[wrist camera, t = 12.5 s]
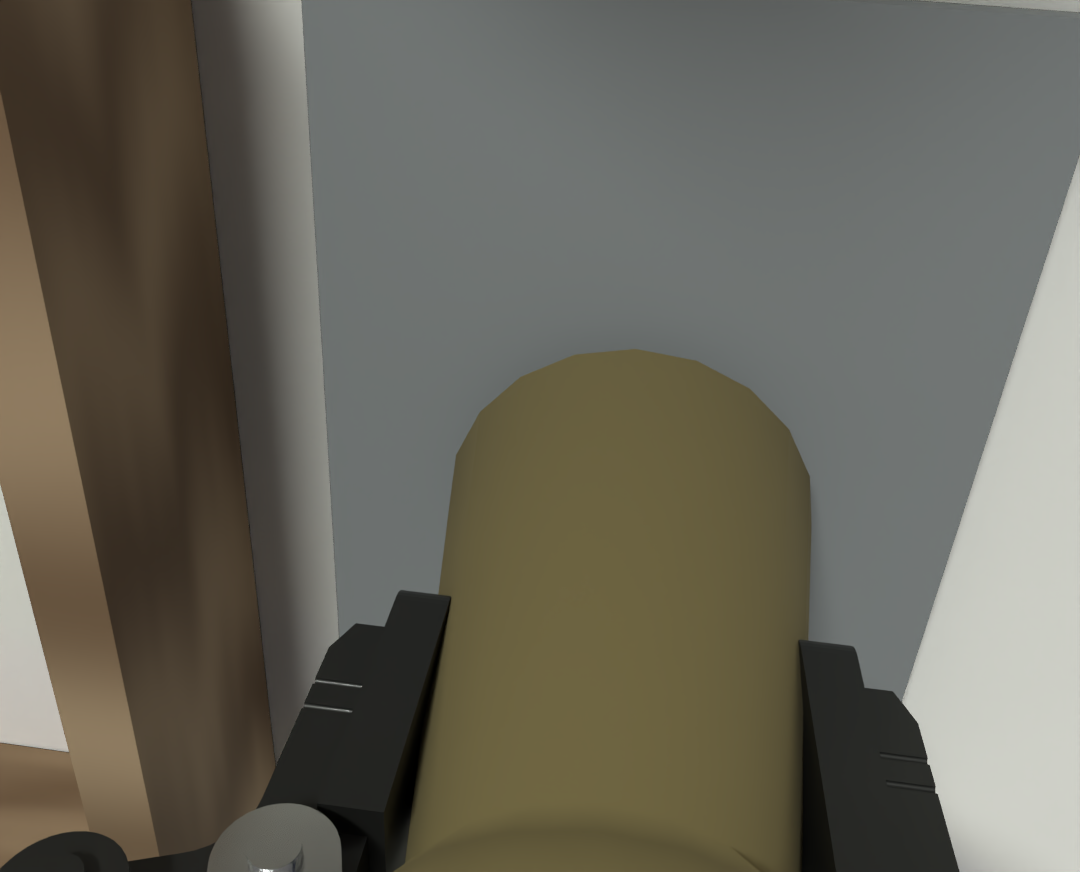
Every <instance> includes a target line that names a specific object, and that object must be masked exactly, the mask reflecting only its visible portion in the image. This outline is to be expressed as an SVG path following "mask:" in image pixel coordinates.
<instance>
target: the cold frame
mask: <svg viewBox="0 0 1080 872" xmlns="http://www.w3.org/2000/svg"><path fill="white" fill-rule="evenodd" d="M0 485H1V488H2V492H3V496H4V500H5V504H6V508H7V512H8V516H9V520H10V523H11V527H12V531H13V535H14V539H15V543H16V547H17V551H18V555H19V559H20V562H21V566H22V570H23V574H24V578H25V582H26V586H27V590H28V594H29V597H30V601H31V605H32V609H33V613H34V617H35V621H36V625H37V629H38V632H39V636H40V640H41V644H42V648H43V652H44V656H45V660H46V664H47V668H48V671H49V675H50V679H51V683H52V687H53V691H54V695H55V699H56V703H57V706H58V710H59V714H60V718H61V722H62V726H63V730H64V734H65V738H66V742H67V745H68V749H69V753H68V752H61V751H53V750H46V749H39V748H32V747H25V746H18V745H11V744H4V743H0V868H1V867H2V866H3V865H4V864H5V863H6V862H8V861H9V860H10V859H11V858H12V857H13V856H15V855H16V854H17V853H19V852H20V851H22V850H23V849H25V848H26V847H28V846H30V845H32V844H34V843H35V842H37V841H39V840H42V839H45V838H47V837H50V836H53V835H57V834H60V833H65V832H73V831H88V832H95V833H99V834H102V835H105V836H107V837H109V838H111V839H112V840H114V841H115V842H116V843H117V844H118V845H119V846H120V847H121V848H122V849H123V851H124V853H125V854H126V857H127V860H128V861H133V860H139V859H146V858H152V857H159V856H165V855H172V854H178V853H184V852H189V851H193V850H197V849H200V848H203V847H206V846H209V845H211V844H213V843H215V842H216V841H217V840H218V838H219V837H220V835H221V834H222V833H223V832H224V831H225V830H226V828H227V827H229V826H230V825H231V824H232V823H233V822H234V821H236V820H237V819H239V818H240V817H242V816H243V815H245V814H247V813H249V812H251V811H253V810H255V809H256V808H257V806H258V805H259V803H260V801H261V799H262V797H263V795H264V792H265V790H266V788H267V786H268V783H269V781H270V779H271V777H272V774H273V772H274V770H275V768H276V766H275V757H274V748H273V739H272V730H271V721H270V712H269V703H268V694H267V685H266V676H265V667H264V657H263V648H262V639H261V630H260V621H259V612H258V603H257V594H256V585H255V576H254V567H253V558H252V549H251V540H250V531H249V522H248V513H247V504H246V495H245V486H244V477H243V468H242V459H241V450H240V440H239V431H238V422H237V413H236V404H235V395H234V386H233V377H232V368H231V359H230V350H229V341H228V332H227V323H226V314H225V305H224V296H223V287H222V278H221V269H220V260H219V251H218V242H217V233H216V223H215V214H214V205H213V196H212V187H211V178H210V169H209V160H208V151H207V142H206V133H205V124H204V115H203V106H202V97H201V88H200V79H199V70H198V61H197V52H196V43H195V34H194V25H193V16H192V6H191V0H0Z"/></svg>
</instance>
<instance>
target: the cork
mask: <svg viewBox="0 0 1080 872" xmlns="http://www.w3.org/2000/svg"><path fill="white" fill-rule="evenodd" d="M810 561H811V495H810V476H809V473H808V471H807V469H806V467H805V464H804V462H803V460H802V458H801V455H800V453H799V451H798V448H797V446H796V444H795V442H794V439H793V437H792V435H791V433H790V430H789V429H788V428H787V427H786V426H785V424H784V423H783V422H782V421H781V420H780V419H779V418H778V417H777V416H776V415H775V414H774V413H773V412H772V411H771V410H770V409H769V408H768V407H767V406H766V405H765V404H764V403H763V402H762V401H761V400H760V399H759V398H758V397H757V395H756V394H755V393H754V392H753V391H752V390H751V389H750V388H748V387H746V386H744V385H742V384H740V383H738V382H736V381H734V380H732V379H731V378H729V377H727V376H725V375H723V374H721V373H719V372H717V371H715V370H713V369H712V368H710V367H708V366H706V365H704V364H702V363H700V362H698V361H696V360H691V359H685V358H680V357H675V356H670V355H665V354H660V353H654V352H649V351H644V350H639V349H629V350H618V351H608V352H597V353H586V354H576V355H572V356H570V357H567V358H565V359H563V360H560V361H558V362H555V363H553V364H550V365H548V366H546V367H543V368H541V369H538V370H536V371H533V372H531V373H529V374H526V375H524V376H521V377H520V378H519V379H517V380H516V381H515V382H514V383H513V384H512V385H510V386H509V387H508V388H507V389H506V390H505V391H504V392H502V393H501V394H500V395H499V396H498V397H497V398H495V399H494V400H493V401H492V402H491V403H490V404H488V405H487V406H486V407H485V408H484V409H483V410H481V411H480V413H479V414H478V416H477V418H476V420H475V422H474V423H473V425H472V427H471V429H470V431H469V432H468V434H467V436H466V438H465V440H464V441H463V443H462V445H461V447H460V449H459V451H458V452H457V454H456V459H455V466H454V474H453V481H452V489H451V496H450V504H449V512H448V520H447V528H446V536H445V544H444V552H443V560H442V568H441V576H440V584H439V592H438V594H439V595H447V596H451V601H450V605H449V610H448V614H447V619H446V623H445V628H444V632H443V636H442V641H441V645H440V650H439V654H438V659H437V663H436V667H435V672H434V676H433V681H432V685H431V690H430V694H429V699H428V703H427V707H426V712H425V716H424V721H423V725H422V732H421V740H420V747H419V755H418V763H417V771H416V778H415V786H414V794H413V801H412V809H411V817H410V825H409V833H408V841H407V849H406V857H405V864H403V865H402V866H401V867H399V868H398V869H396V870H395V871H393V872H802V858H803V701H802V686H801V670H800V655H799V640H800V639H801V640H808V635H809V598H810Z"/></svg>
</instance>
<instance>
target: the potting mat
mask: <svg viewBox="0 0 1080 872" xmlns="http://www.w3.org/2000/svg"><path fill="white" fill-rule="evenodd" d="M301 1H302V18H303V35H304V52H305V69H306V85H307V102H308V119H309V136H310V153H311V170H312V187H313V204H314V221H315V237H316V254H317V271H318V288H319V305H320V322H321V339H322V356H323V373H324V390H325V406H326V423H327V440H328V457H329V474H330V491H331V508H332V525H333V542H334V558H335V575H336V592H337V609H338V626H339V638H340V637H341V636H342V635H343V634H344V633H346V632H347V631H348V630H349V629H350V628H351V627H352V626H353V625H354V624H355V623H359V624H367V625H375V626H383V627H385V624H386V621H387V619H388V616H389V614H390V611H391V608H392V606H393V603H394V601H395V598H396V596H397V594H398V592H399V591H400V590H406V591H414V592H423V593H431V594H438V592H439V584H440V576H441V568H442V560H443V552H444V544H445V536H446V528H447V520H448V512H449V504H450V496H451V489H452V481H453V474H454V466H455V459H456V454H457V452H458V451H459V449H460V447H461V445H462V443H463V441H464V440H465V438H466V436H467V434H468V432H469V431H470V429H471V427H472V425H473V423H474V422H475V420H476V418H477V416H478V414H479V413H480V411H481V410H483V409H484V408H485V407H486V406H487V405H488V404H490V403H491V402H492V401H493V400H494V399H495V398H497V397H498V396H499V395H500V394H501V393H502V392H504V391H505V390H506V389H507V388H508V387H509V386H510V385H512V384H513V383H514V382H515V381H516V380H517V379H519V378H520V377H521V376H524V375H526V374H529V373H531V372H533V371H536V370H538V369H541V368H543V367H546V366H548V365H550V364H553V363H555V362H558V361H560V360H563V359H565V358H567V357H570V356H572V355H576V354H586V353H597V352H608V351H618V350H629V349H639V350H644V351H649V352H654V353H660V354H665V355H670V356H675V357H680V358H685V359H691V360H696V361H698V362H700V363H702V364H704V365H706V366H708V367H710V368H712V369H713V370H715V371H717V372H719V373H721V374H723V375H725V376H727V377H729V378H731V379H732V380H734V381H736V382H738V383H740V384H742V385H744V386H746V387H748V388H750V389H751V390H752V391H753V392H754V393H755V394H756V395H757V397H758V398H759V399H760V400H761V401H762V402H763V403H764V404H765V405H766V406H767V407H768V408H769V409H770V410H771V411H772V412H773V413H774V414H775V415H776V416H777V417H778V418H779V419H780V420H781V421H782V422H783V423H784V424H785V426H786V427H787V428H788V429H789V430H790V433H791V435H792V437H793V439H794V442H795V444H796V446H797V448H798V451H799V453H800V455H801V458H802V460H803V462H804V464H805V467H806V469H807V471H808V473H809V476H810V495H811V561H810V598H809V635H808V640H809V641H817V642H825V643H833V644H841V645H850V646H853V647H854V648H855V650H856V652H857V656H858V660H859V665H860V669H861V674H862V678H863V682H864V687H865V688H871V689H879V690H887V691H893V692H894V693H895V694H896V696H897V697H898V698H899V700H900V701H901V702H902V699H903V696H904V692H905V689H906V686H907V683H908V680H909V677H910V674H911V671H912V668H913V665H914V662H915V659H916V656H917V653H918V649H919V646H920V643H921V640H922V637H923V634H924V631H925V628H926V625H927V622H928V619H929V616H930V613H931V610H932V606H933V603H934V600H935V597H936V594H937V591H938V588H939V585H940V582H941V579H942V576H943V573H944V570H945V567H946V564H947V560H948V557H949V554H950V551H951V548H952V545H953V542H954V539H955V536H956V533H957V530H958V527H959V524H960V521H961V517H962V514H963V511H964V508H965V505H966V502H967V499H968V496H969V493H970V490H971V487H972V484H973V481H974V478H975V474H976V471H977V468H978V465H979V462H980V459H981V456H982V453H983V450H984V447H985V444H986V441H987V438H988V435H989V432H990V428H991V425H992V422H993V419H994V416H995V413H996V410H997V407H998V404H999V401H1000V398H1001V395H1002V392H1003V389H1004V385H1005V382H1006V379H1007V376H1008V373H1009V370H1010V367H1011V364H1012V361H1013V358H1014V355H1015V352H1016V349H1017V346H1018V343H1019V339H1020V336H1021V333H1022V330H1023V327H1024V324H1025V321H1026V318H1027V315H1028V312H1029V309H1030V306H1031V303H1032V300H1033V296H1034V293H1035V290H1036V287H1037V284H1038V281H1039V278H1040V275H1041V272H1042V269H1043V266H1044V263H1045V260H1046V257H1047V253H1048V250H1049V247H1050V244H1051V241H1052V238H1053V235H1054V232H1055V229H1056V226H1057V223H1058V220H1059V217H1060V214H1061V211H1062V207H1063V204H1064V201H1065V198H1066V195H1067V192H1068V189H1069V186H1070V183H1071V180H1072V177H1073V174H1074V171H1075V168H1076V164H1077V161H1078V158H1079V155H1080V13H1079V12H1065V11H1051V10H1038V9H1024V8H1011V7H997V6H984V5H970V4H957V3H943V2H929V1H916V0H301Z"/></svg>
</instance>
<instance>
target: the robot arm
mask: <svg viewBox="0 0 1080 872" xmlns="http://www.w3.org/2000/svg"><path fill="white" fill-rule="evenodd" d="M450 601H451V596H447V595H439V594H431V593H423V592H414V591H406V590H400V591H399V592H398V594H397V596H396V598H395V601H394V603H393V606H392V608H391V611H390V614H389V616H388V619H387V621H386V624H385V627H383V626H375V625H367V624H359V623H355V624H354V625H353V626H352V627H351V628H350V629H349V630H348V631H347V632H346V633H344V634H343V635H342V636H341V637H340V638H339V639H338V640H337V641H336V642H335V643H333V644H332V645H331V646H330V647H329V649H328V651H327V653H326V655H325V658H324V660H323V662H322V664H321V667H320V669H319V671H318V673H317V675H316V679H315V684H312V687H311V689H310V691H309V693H308V696H307V698H306V700H305V705H304V708H303V709H301V711H300V714H299V716H298V718H297V720H296V723H295V725H294V727H293V729H292V732H291V734H290V736H289V738H288V741H287V743H286V745H285V747H284V750H283V752H282V754H281V756H280V759H279V761H278V763H277V765H276V768H275V770H274V772H273V774H272V777H271V779H270V781H269V783H268V786H267V788H266V790H265V792H264V795H263V797H262V799H261V801H260V803H259V805H258V806H257V808H256V809H255V810H253V811H251V812H249V813H247V814H245V815H243V816H242V817H240V818H239V819H237V820H236V821H234V822H233V823H232V824H231V825H230V826H229V827H227V828H226V830H225V831H224V832H223V833H222V834H221V835H220V837H219V838H218V840H217V841H216V842H215V843H213V844H211V845H209V846H206V847H203V848H200V849H197V850H193V851H189V852H184V853H178V854H172V855H165V856H159V857H152V858H146V859H139V860H133V861H128V860H127V857H126V854H125V853H124V851H123V849H122V848H121V847H120V846H119V845H118V844H117V843H116V842H115V841H114V840H112V839H111V838H109V837H107V836H105V835H102V834H99V833H95V832H88V831H73V832H65V833H60V834H57V835H53V836H50V837H47V838H45V839H42V840H39V841H37V842H35V843H34V844H32V845H30V846H28V847H26V848H25V849H23V850H22V851H20V852H19V853H17V854H16V855H15V856H13V857H12V858H11V859H10V860H9V861H8V862H6V863H5V864H4V865H3V866H2V867H1V868H0V872H393V871H395V870H396V869H398V868H399V867H401V866H402V865H403V864H405V857H406V849H407V841H408V833H409V825H410V817H411V809H412V801H413V794H414V786H415V778H416V771H417V763H418V755H419V747H420V740H421V732H422V725H423V721H424V716H425V712H426V707H427V703H428V699H429V694H430V690H431V685H432V681H433V676H434V672H435V667H436V663H437V659H438V654H439V650H440V645H441V641H442V636H443V632H444V628H445V623H446V619H447V614H448V610H449V605H450ZM799 655H800V670H801V686H802V701H803V858H802V872H959V869H958V865H957V862H956V858H955V855H954V851H953V847H952V844H951V840H950V837H949V833H948V829H947V826H946V822H945V819H944V815H943V812H942V808H941V804H940V801H939V797H938V794H935V787H936V786H935V783H934V779H933V776H932V772H931V769H930V765H927V759H928V758H927V754H926V751H925V747H924V743H923V740H922V736H921V733H920V729H919V725H918V723H917V722H916V720H915V719H914V718H913V716H912V715H911V714H910V713H909V711H908V710H907V709H906V707H905V706H904V705H903V704H902V702H901V701H900V700H899V698H898V697H897V696H896V694H895V693H894V692H893V691H887V690H879V689H871V688H865V687H864V682H863V678H862V674H861V669H860V665H859V660H858V656H857V652H856V650H855V648H854V647H853V646H850V645H841V644H833V643H825V642H817V641H809V640H801V639H800V640H799Z"/></svg>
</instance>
